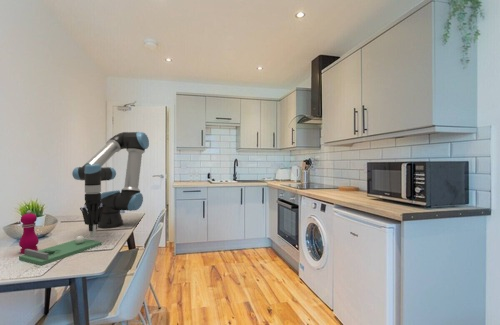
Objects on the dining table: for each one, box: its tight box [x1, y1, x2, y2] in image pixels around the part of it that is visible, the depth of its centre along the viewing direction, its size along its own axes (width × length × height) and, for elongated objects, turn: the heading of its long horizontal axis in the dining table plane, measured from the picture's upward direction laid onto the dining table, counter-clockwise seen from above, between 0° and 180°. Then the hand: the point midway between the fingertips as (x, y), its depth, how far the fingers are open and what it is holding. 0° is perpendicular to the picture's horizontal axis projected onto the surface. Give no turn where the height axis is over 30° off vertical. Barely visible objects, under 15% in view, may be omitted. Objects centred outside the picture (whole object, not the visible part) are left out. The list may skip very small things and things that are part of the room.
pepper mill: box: [18, 209, 40, 255], centre depth 125 cm, size 7×7×20 cm
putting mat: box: [18, 238, 102, 266], centre depth 125 cm, size 28×16×4 cm, turn 158°
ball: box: [74, 235, 85, 244], centre depth 132 cm, size 4×4×4 cm
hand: (93, 236), depth 139 cm, fingers closed
